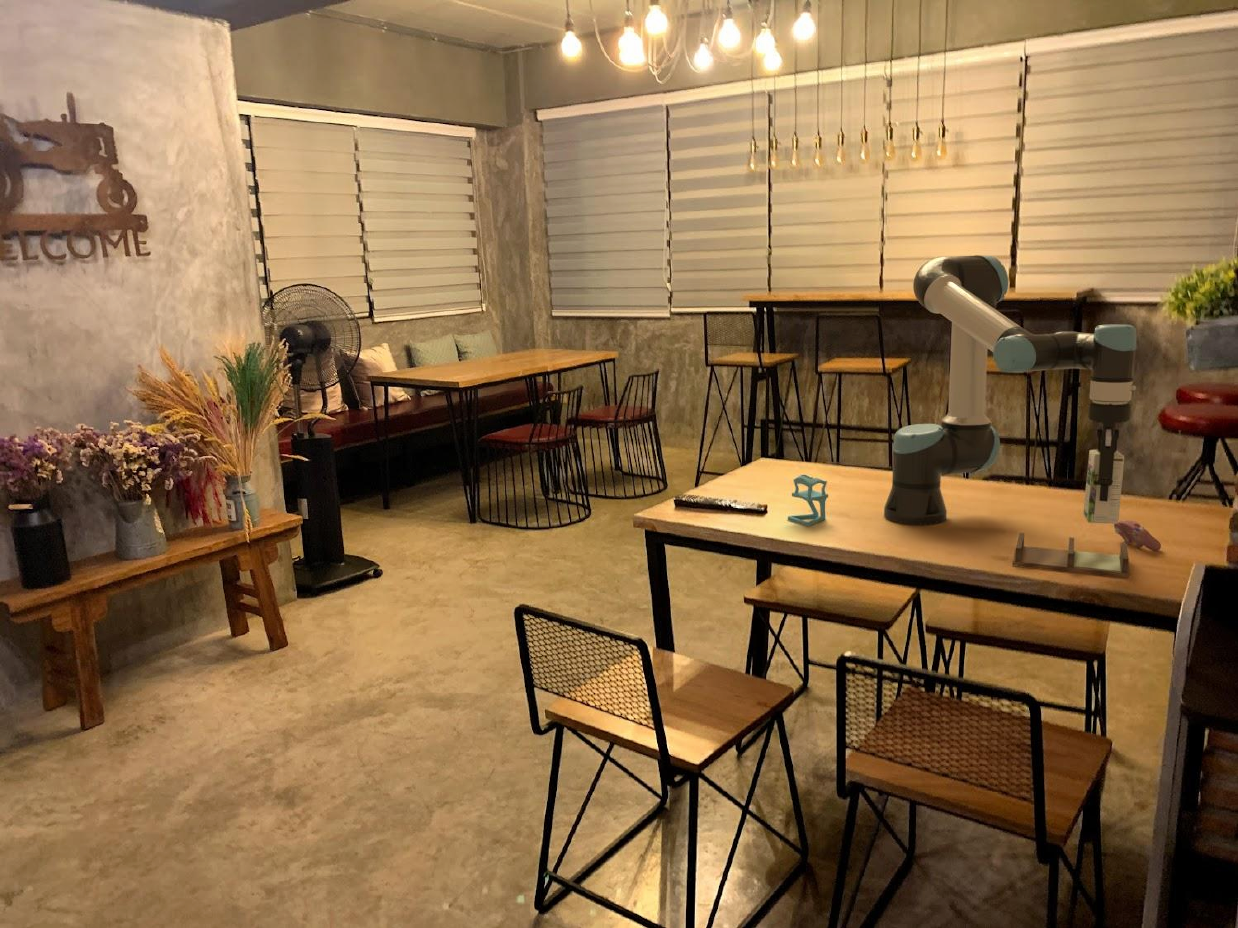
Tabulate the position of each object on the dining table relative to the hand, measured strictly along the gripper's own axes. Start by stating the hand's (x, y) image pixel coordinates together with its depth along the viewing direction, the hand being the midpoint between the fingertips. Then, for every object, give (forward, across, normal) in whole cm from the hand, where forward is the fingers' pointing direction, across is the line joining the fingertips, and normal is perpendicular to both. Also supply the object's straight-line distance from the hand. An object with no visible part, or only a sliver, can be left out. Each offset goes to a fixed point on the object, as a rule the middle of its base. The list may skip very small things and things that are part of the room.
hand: (1101, 511), depth 190 cm
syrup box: (+2, 0, 0) cm, 2 cm away
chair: (+12, +13, +65) cm, 68 cm away
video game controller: (+12, +19, -8) cm, 24 cm away
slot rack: (+12, 0, +5) cm, 13 cm away
